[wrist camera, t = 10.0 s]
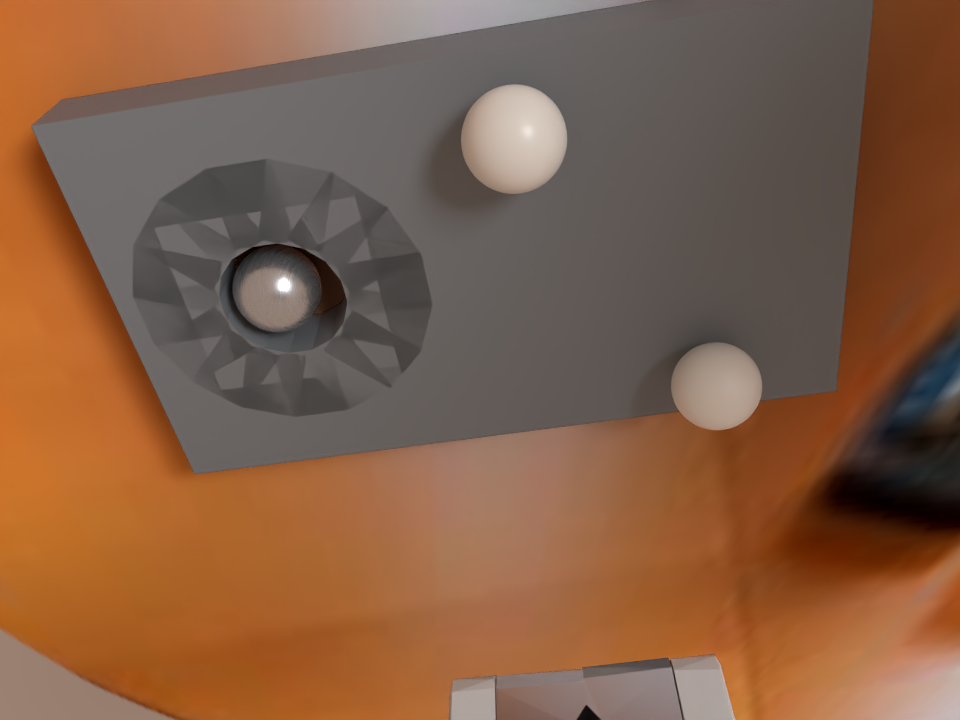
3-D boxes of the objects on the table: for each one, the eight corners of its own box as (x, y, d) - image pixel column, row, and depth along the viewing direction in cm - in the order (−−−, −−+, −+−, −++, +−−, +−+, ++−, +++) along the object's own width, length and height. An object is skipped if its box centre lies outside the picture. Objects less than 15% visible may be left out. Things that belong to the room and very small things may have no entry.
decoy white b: (556, 62, 26) (566, 96, 24) (567, 160, 28) (577, 202, 26) (453, 79, 27) (451, 115, 24) (470, 175, 29) (470, 219, 26)
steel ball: (278, 271, 29) (202, 267, 31) (302, 352, 31) (229, 345, 32) (326, 231, 32) (254, 229, 33) (345, 307, 33) (276, 303, 35)
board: (844, -32, 27) (875, -15, 25) (815, 354, 36) (836, 391, 34) (61, 99, 29) (30, 126, 27) (209, 435, 38) (194, 474, 36)
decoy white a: (749, 319, 32) (774, 370, 29) (748, 388, 34) (771, 442, 31) (661, 331, 32) (679, 383, 30) (665, 399, 34) (681, 453, 31)
